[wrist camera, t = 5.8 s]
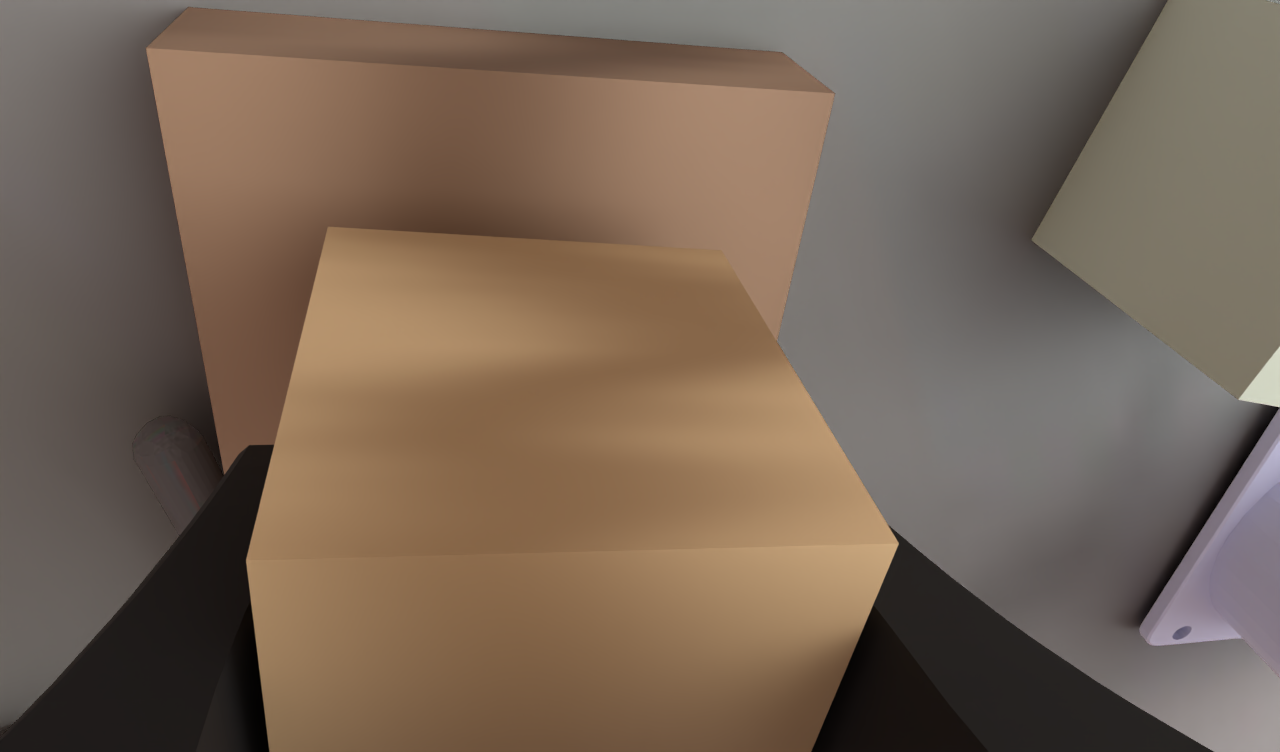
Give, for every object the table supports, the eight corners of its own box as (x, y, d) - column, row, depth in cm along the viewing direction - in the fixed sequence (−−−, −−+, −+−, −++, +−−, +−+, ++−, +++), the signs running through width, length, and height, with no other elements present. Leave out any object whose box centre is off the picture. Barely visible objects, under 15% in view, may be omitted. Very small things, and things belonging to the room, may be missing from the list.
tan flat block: (773, 44, 13) (835, 92, 11) (693, 458, 18) (728, 547, 16) (196, -1, 11) (146, 47, 9) (266, 473, 16) (242, 576, 14)
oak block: (721, 250, 11) (898, 542, 6) (660, 526, 13) (762, 866, 9) (328, 226, 9) (244, 560, 5) (340, 532, 12) (290, 924, 8)
